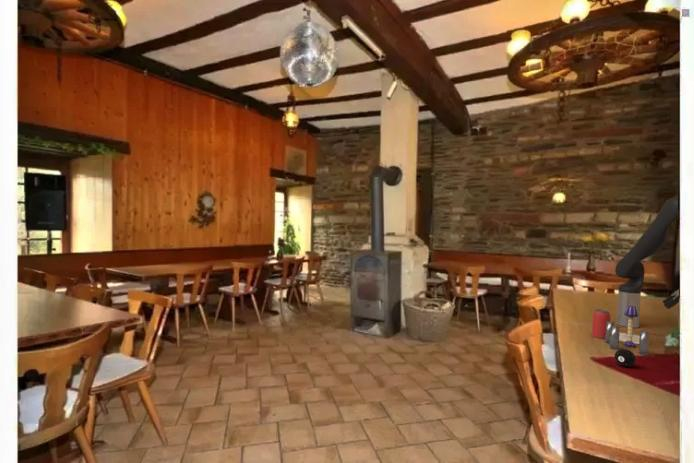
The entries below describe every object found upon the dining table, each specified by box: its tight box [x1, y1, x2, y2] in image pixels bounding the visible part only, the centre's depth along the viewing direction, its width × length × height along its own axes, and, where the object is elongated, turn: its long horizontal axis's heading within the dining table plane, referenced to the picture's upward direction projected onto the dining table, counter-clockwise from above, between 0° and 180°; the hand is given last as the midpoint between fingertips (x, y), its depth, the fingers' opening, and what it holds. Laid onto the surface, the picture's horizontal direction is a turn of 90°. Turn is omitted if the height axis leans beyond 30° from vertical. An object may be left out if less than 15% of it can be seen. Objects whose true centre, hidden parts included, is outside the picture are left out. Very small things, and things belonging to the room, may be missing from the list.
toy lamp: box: [622, 306, 638, 348], centre depth 163 cm, size 5×5×17 cm
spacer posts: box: [604, 320, 650, 356], centre depth 159 cm, size 11×16×9 cm, turn 39°
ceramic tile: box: [619, 332, 640, 345], centre depth 173 cm, size 12×12×1 cm
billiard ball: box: [614, 348, 636, 368], centre depth 139 cm, size 6×6×6 cm
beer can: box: [591, 308, 611, 340], centre depth 175 cm, size 7×7×12 cm
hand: (665, 305), depth 157 cm, fingers open, 8 cm apart
